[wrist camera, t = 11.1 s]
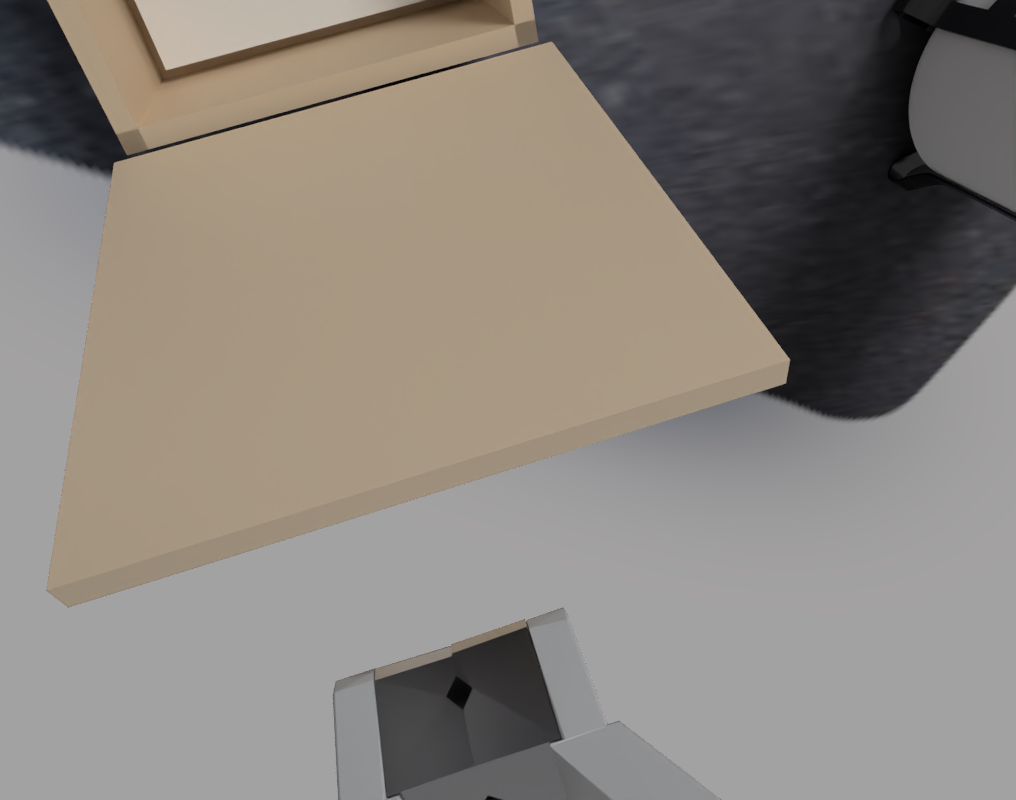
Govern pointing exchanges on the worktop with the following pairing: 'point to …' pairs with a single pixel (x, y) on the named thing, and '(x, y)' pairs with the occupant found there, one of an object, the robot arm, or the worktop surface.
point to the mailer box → (266, 54)
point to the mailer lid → (379, 317)
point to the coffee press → (964, 100)
